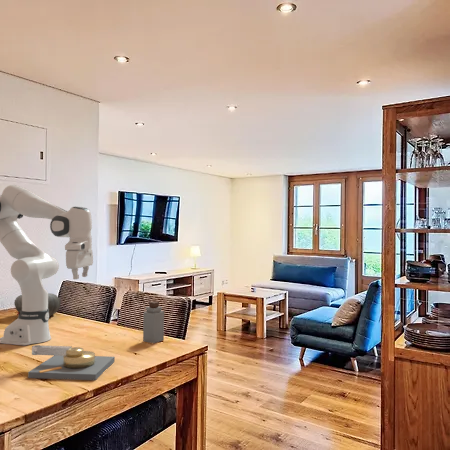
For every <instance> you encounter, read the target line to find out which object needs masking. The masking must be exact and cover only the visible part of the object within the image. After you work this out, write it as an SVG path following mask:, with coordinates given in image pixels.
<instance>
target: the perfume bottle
mask: <svg viewBox="0 0 450 450" xmlns="http://www.w3.org/2000/svg"><path fill="white" fill-rule="evenodd" d="M148 304H149V306H146V307H145V310H146V311H144V312H143V323H142V325H143V327H142V328H143V329H142V330H143V331H142V336H143V337H142V342H144V343H146V342H147V343H150V344H157V343H159V342H160V343H161V342H163V341H164V339H165V338H164V336H165V329H164V328H165V311H162V309H163V306H160V302H159V301H150V302H149V303H148Z"/></svg>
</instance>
